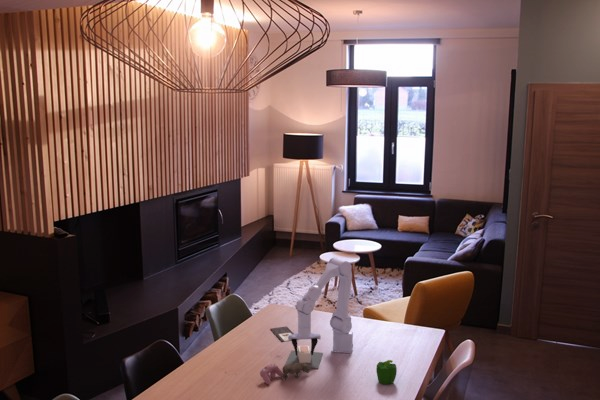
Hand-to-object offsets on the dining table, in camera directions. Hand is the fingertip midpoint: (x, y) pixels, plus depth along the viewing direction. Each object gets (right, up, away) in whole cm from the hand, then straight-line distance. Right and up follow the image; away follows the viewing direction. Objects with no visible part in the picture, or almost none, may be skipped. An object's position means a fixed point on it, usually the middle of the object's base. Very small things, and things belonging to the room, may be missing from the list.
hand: (304, 354), depth 256 cm
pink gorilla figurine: (-14, -6, -19) cm, 24 cm away
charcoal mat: (0, -3, 0) cm, 3 cm away
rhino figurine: (-3, -5, -16) cm, 17 cm away
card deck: (0, -2, 0) cm, 2 cm away
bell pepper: (+34, -6, -22) cm, 40 cm away
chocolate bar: (-10, +1, +31) cm, 33 cm away
